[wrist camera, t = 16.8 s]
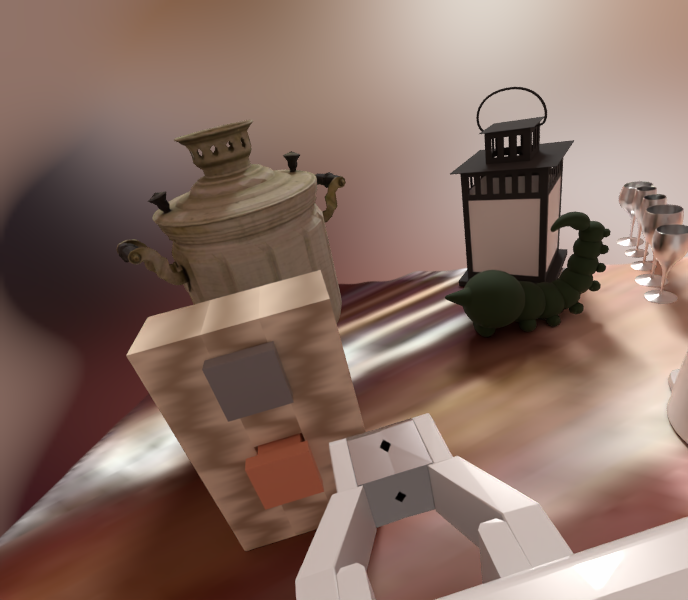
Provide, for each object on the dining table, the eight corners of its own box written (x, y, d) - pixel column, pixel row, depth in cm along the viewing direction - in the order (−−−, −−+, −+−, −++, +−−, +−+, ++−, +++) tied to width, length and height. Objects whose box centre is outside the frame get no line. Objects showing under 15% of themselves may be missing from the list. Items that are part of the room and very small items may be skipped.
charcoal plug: (288, 343, 41) (272, 297, 38) (293, 402, 33) (273, 349, 30) (236, 358, 40) (216, 312, 38) (228, 421, 32) (202, 369, 30)
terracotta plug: (313, 420, 44) (300, 383, 42) (324, 491, 36) (308, 450, 33) (265, 434, 44) (249, 398, 41) (265, 509, 36) (245, 470, 33)
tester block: (373, 463, 48) (320, 269, 36) (385, 507, 43) (329, 298, 30) (247, 501, 48) (147, 317, 35) (245, 551, 42) (126, 355, 30)
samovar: (344, 316, 81) (291, 105, 62) (417, 384, 59) (368, 90, 40) (203, 378, 72) (91, 157, 54) (226, 484, 50) (50, 173, 32)
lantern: (567, 254, 83) (578, 67, 67) (551, 294, 72) (560, 81, 55) (484, 250, 93) (476, 88, 76) (459, 285, 82) (443, 102, 65)
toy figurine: (569, 302, 71) (436, 326, 70) (586, 199, 62) (434, 224, 61) (606, 329, 63) (456, 357, 61) (632, 214, 54) (457, 243, 53)
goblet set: (687, 304, 61) (706, 225, 55) (642, 304, 64) (655, 228, 57) (643, 235, 83) (653, 172, 77) (611, 237, 86) (618, 176, 79)
